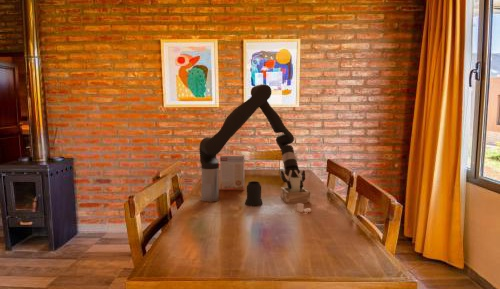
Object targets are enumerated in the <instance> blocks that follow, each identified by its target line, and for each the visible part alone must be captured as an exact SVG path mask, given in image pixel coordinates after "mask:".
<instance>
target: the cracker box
mask: <svg viewBox="0 0 500 289" xmlns="http://www.w3.org/2000/svg"><path fill="white" fill-rule="evenodd" d="M219 160H220V161H219V162H220V163H219V184H220V191H242V192H243V191H244V190H245V186H246V185H245V182H246V181H245V178H246V177H245V155H244V154H221V155H220V159H219Z"/></svg>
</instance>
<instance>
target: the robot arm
mask: <svg viewBox="0 0 500 289" xmlns="http://www.w3.org/2000/svg"><path fill="white" fill-rule="evenodd" d="M271 96H272V88H271V86H270V85H268V84H264V83H263V84H258V85H255V86H254V85H253V87H252V88H251V90H250V97H249V98H248V99H247V100H246V101H244V102H243V103H241V104H239V105H238V106H237V107H236V108H234V109H233V110H232V111H231V112H230V114H228V115H227V117H226V118H225V120H224V122H223V124H222V126H221V128H220V129H219V130H218V132H216V133H215V135H212V137H207V136H206V137H204V138H203V139H202V140H200V142H199V161H200V164H201V165H200V166H201V183H200V189H201V190H200V194H201V197H200V198H201V199H200V201H202V202H208V203H209V202H210V203H213V202H216V201H217V202H218V201H219V200H220V163H219V162H220V161H218V159H217V155H218V154H219V153H220V152H221V151H222V150H223V148H224V147H225V146H226V144H227V143H228V141H230V139H231V138H232V137H233V136H234V135H235V134H236V133H237V132H238V131H239V130H240V129H241V128H242V127H243V126H244V125H245V123H246V122H248V120H250V118H251V117H252V116H253V115H254V113H255V112H256V111H257V110H258V109H260V110H261V112H262V114H264V116H265V118H266V119H267V121H268V122H269V125H270V127H271V129H272V130H273V132H274V133H275V134H280V133H281V134H280V135H277V137H276V139H275V141H276V144H277V146H278V147H279V150H280V152H281V155H282V164H283V168H284V171H283V170H281V171H280V173H279V175H280V178H281V180H282V183H285V184H286V187H288V188H289V189H291V183H290V177H291V176H299V177H300V189H302V188H303V187H304V182H305V180H306V171H305V170H304V169H303V170H300V169H299V165H298V162H297V161H298V160H297V158H296V154H295V151H294V147H293V146H292V145H291V144H293V143H294V142H295V137H294V135H293V133H292V132H291V131H290V130H289V129H288V128H287V127H286V126H285V124H284V122H283V120H282V119H281V117H280V115H279V114H278V113H277V111H276V110H274V108H273V107H272V106H271V104H270V103H269V101H268V100H269V99H270V98H271ZM286 176H287V178H286Z"/></svg>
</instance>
